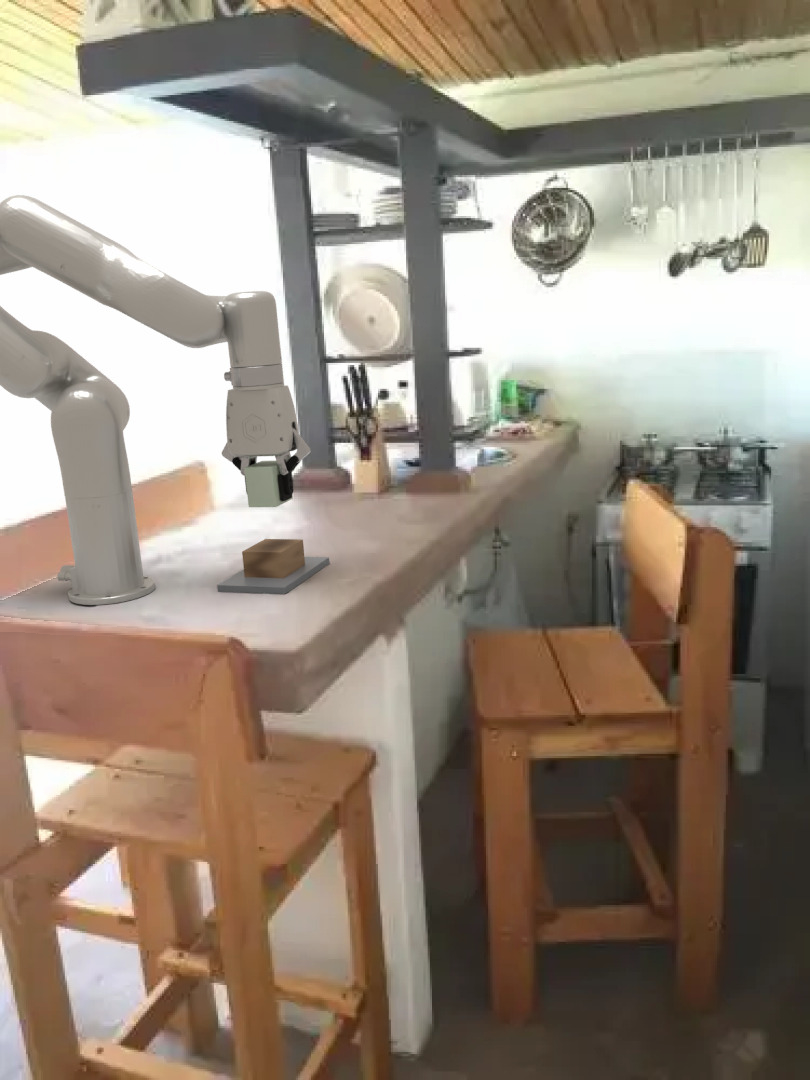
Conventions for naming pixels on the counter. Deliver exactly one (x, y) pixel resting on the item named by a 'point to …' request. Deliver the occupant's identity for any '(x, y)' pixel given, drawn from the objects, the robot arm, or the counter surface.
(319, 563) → the slate baseplate
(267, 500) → the sage block
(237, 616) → the counter surface
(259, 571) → the walnut base block
